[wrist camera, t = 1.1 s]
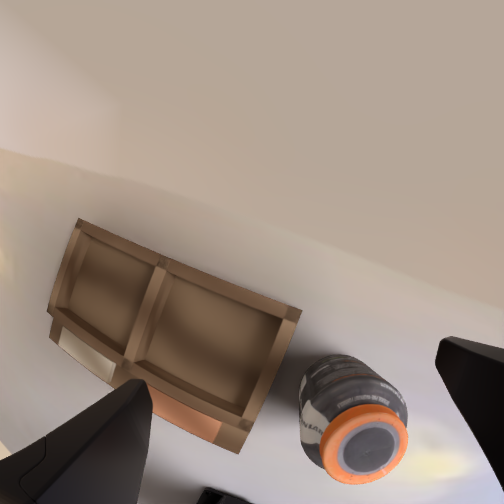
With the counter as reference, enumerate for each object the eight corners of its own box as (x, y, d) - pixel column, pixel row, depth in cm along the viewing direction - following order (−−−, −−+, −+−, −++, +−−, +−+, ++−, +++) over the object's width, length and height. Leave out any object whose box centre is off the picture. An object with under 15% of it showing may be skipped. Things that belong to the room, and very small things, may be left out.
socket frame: (241, 448, 20) (235, 461, 18) (56, 337, 25) (40, 337, 22) (301, 310, 22) (302, 310, 20) (93, 224, 27) (78, 217, 24)
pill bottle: (284, 404, 21) (272, 476, 10) (323, 341, 21) (347, 368, 10) (347, 432, 19) (377, 511, 8) (385, 372, 20) (451, 414, 9)
